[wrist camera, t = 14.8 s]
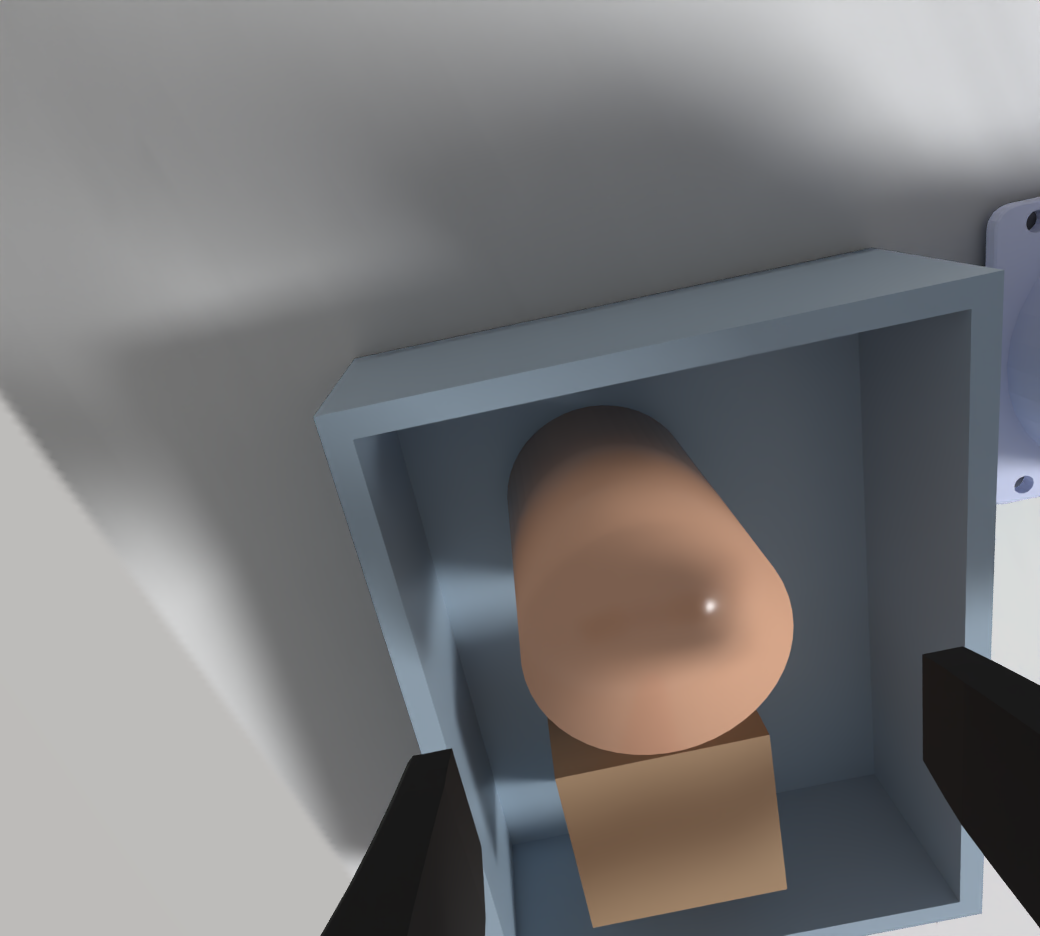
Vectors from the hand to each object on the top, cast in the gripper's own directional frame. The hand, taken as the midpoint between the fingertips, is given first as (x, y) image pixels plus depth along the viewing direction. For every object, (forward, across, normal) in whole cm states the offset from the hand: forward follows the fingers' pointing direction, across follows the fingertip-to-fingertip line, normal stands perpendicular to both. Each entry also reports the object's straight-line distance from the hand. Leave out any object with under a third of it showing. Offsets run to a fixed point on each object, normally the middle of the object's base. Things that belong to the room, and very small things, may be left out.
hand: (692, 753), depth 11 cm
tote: (+10, -1, +4) cm, 11 cm away
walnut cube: (+10, 0, +7) cm, 12 cm away
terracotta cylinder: (+10, 0, 0) cm, 10 cm away
